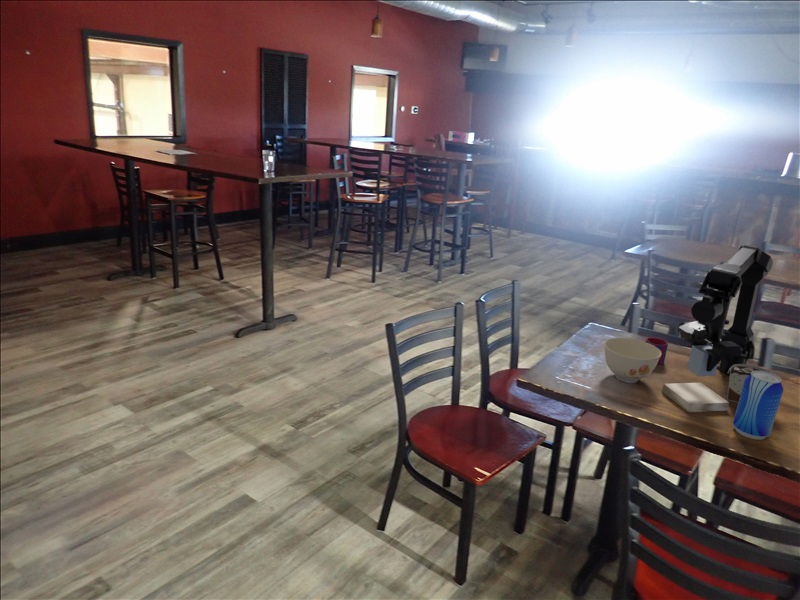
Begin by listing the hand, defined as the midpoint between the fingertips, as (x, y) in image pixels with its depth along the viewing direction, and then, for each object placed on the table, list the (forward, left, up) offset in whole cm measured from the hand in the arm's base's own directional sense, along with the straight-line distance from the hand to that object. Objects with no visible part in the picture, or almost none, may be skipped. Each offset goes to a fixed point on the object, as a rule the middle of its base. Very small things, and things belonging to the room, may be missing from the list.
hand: (701, 367), depth 161 cm
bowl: (+12, -15, -11) cm, 22 cm away
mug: (-6, -28, -11) cm, 30 cm away
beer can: (-4, +17, -11) cm, 21 cm away
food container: (-16, +1, -11) cm, 19 cm away
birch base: (0, 0, -11) cm, 11 cm away
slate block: (0, 0, -2) cm, 2 cm away
